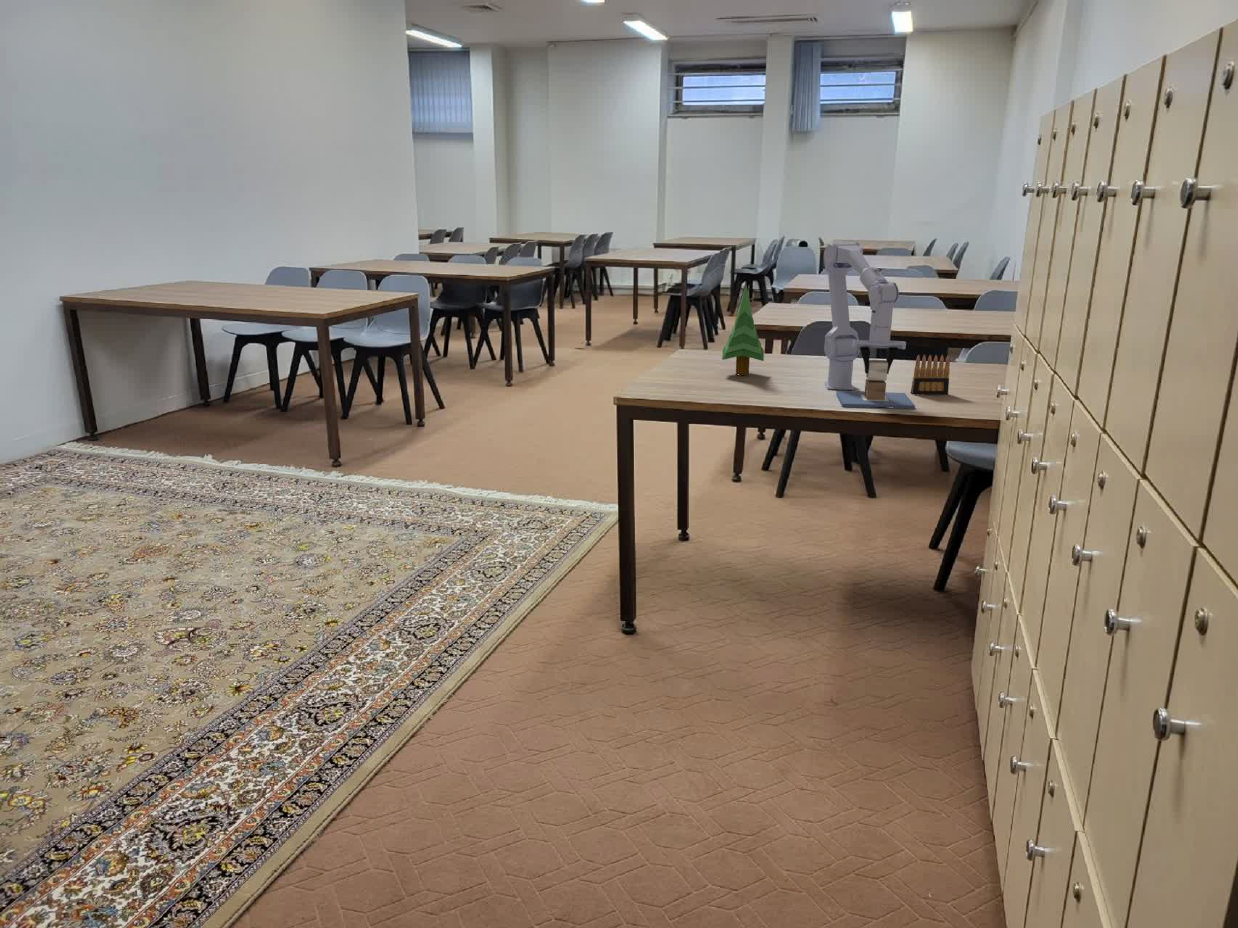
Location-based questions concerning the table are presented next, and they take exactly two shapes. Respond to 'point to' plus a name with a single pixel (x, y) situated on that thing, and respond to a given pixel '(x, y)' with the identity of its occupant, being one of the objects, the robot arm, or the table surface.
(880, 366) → the off-white block
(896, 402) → the board
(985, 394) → the table surface
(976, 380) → the table surface
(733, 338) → the decorative tree
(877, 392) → the walnut block
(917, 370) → the ammunition clip
